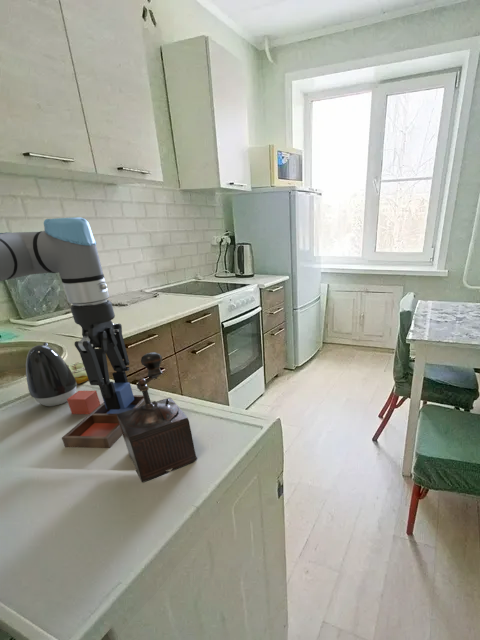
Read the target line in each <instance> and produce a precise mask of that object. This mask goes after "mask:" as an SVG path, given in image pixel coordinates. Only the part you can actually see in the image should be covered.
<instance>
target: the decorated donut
mask: <svg viewBox="0 0 480 640" xmlns="http://www.w3.org/2000/svg"><path fill="white" fill-rule="evenodd" d="M67 365H68V367H69V368H70V370H71V372H72V374H73V375H74V377H75V379H76V382H77V385H79V384H82V383H86V382H89V379H88V376H87V373H86V370H85V368H84V365H83V362H82V361H78V362H74V363H68V364H67Z"/></svg>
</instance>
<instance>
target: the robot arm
mask: <svg viewBox="0 0 480 640" xmlns="http://www.w3.org/2000/svg"><path fill="white" fill-rule="evenodd" d="M43 228H44V230H40V231H21V232H20V231H19V232H0V282H2V281H3V282H4V281H7V280H13V279H17V278H21V277H26V276H30V275H31V276H32V275H41V274H59V277H60V280H61V283H62V287H63V291H64V294H65V297H66V300H67V303H69V304H71V306H70V307H69V308H70V312H71V314H72V318H73V321H74V323H75V324H76V325H78V326H80V328H81V335H82V337H81V339H80V340H76V341H74V347H75V348H76V350H77V351H78V353H79V356H80V359H81V362H83V365H84V368H85V370H86V373H87V376H88V379H89V380H88V382H89V385H90V386H98V387H99V390H100V394H101V397H102V399H103V398H104V400H105V403H106V407H107V410H119V409H120V405H119V401H118V398H117V395H116V391H115V387H114V384H113V383H127V382H129V381H128V376H127V373H126V372H129V371H130V360H129V359H130V358H129V355H128V352H127V348H126V344H125V340H124V336H123V325H122V324H121V323H113V322H112V320H114V319H115V316H116V315H115V311H114V307H113V303H112V301H110V300H109V298H110V293H109V290H108V285H107V283H106V279H105V274H104V272H103V268H102V263H101V260H100V256H99V255H100V254H99V251H98V248H97V241H96V240H95V237H94V234H93V233H94V232H93V231H92V228H91V224H90V223H89V221H88V220H87V219H85V218H84V217H57V218H55V217H54V218H46V219H44V220H43ZM108 361H109V363H110V365H111V367H112V369H113V371H114V372H112V374H111V375H112V378H113V381H114V382H113V381H111V380H110V374H109V373H110V372H109V366H108Z"/></svg>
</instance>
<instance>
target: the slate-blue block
mask: <svg viewBox="0 0 480 640" xmlns="http://www.w3.org/2000/svg"><path fill="white" fill-rule="evenodd" d="M113 384H114V387H115V391H116V395H117V398H118V401H119V405H120V409H125V408H126V407H127V406H128V405H129V404H130V403H131V402H132V401H133V400H134V396H133V395H134V393H133V390H132V385H131V383H130V382H129V381H128V382H127V383H115V382H113ZM102 401H103V402H104V404H105V407H106V403H105V400H104V398H103V397H102ZM106 409H107V407H106Z"/></svg>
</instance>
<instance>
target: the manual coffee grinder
mask: <svg viewBox="0 0 480 640" xmlns="http://www.w3.org/2000/svg"><path fill="white" fill-rule="evenodd" d="M162 361H163V356H162V355H161V354H160V353H158V352H155V351H153V352H152V351H151V352H147V353H145V354H143V355H142V357H141V358H140V362H141V365H142V366H144V367H145V368H146V369H147V378H140V379H138V381H137V384H136V387H137V388H136V389H138V391H139V392H141V393H142V395H143V397H144V400H145V404H144V405H142V406H140V407H138V408H134V409H131V410H128V411H125V412H123V413H120V414H117V418H118V421H119V424H120V428H121V431H122V437H123V440H124V443H125V446H126V449H127V452H128V456H129V458H130V460H131V462H132V464H133V466H134V468H135V469H136V470H134V471H135V473H136V474H137V476H138V478H139V480H140V481H141V483H145V482H147V481H151V480H153V479H155V478H156V479H157V478H158V477H160V476H164V475H166V474H169V473H171V472H173V471H175V470H177V469H181V468H183V467H185V466H187V465H190V464H192V463H194V462H196V461H197V460H198V457H197V454H196V449H195V445H194V439H193V435H192V429H191V424H190V421H189V418H188V417H187V415H186V414H185V412H184V411H183V410H182V409H181V408H180V406H178V404H177V402H176V401H174V400H173V398H172V397H167V398H163V399H160V400H157V401H156V400H154V401H151V397H150V394H149V389H150V387H149V386H148V385H147V384H148V383H149V382H151V381H152V380H154V379H155V380H157V379H158V377H160V376H161V375H163V373H164V372H163V371H162V370H161V363H162Z"/></svg>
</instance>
